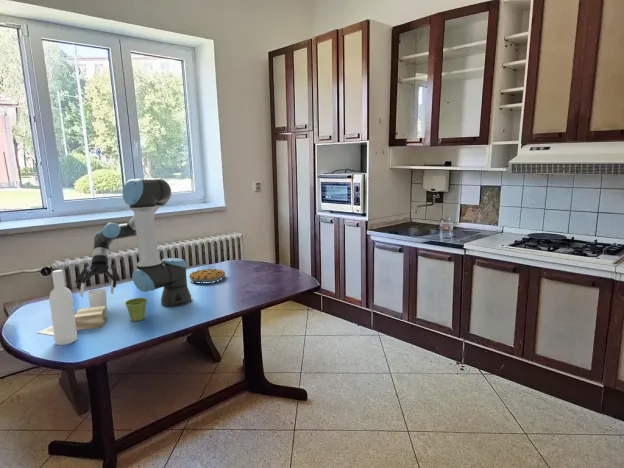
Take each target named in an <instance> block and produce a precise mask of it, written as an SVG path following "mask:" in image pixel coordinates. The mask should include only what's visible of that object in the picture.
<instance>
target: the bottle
mask: <svg viewBox="0 0 624 468" xmlns="http://www.w3.org/2000/svg"><path fill="white" fill-rule="evenodd" d="M51 277H52V281H53V289H52V290H51V292H50V293H49V297H48V298H49V306H50V308H49V309H50V315H51V320H52V326H53V330H54V342H55V345H58V346H65V345H70V344H73V343H74V341H75V342H76V341H77V340H78V332H77V331H78V330H76V323H75V308H74V301H73V293H72V292H71V289H70V288H68V287H66V286H65V285H66V284H65V278H64V271H63V270H62V269H56V270H53V271H51ZM72 342H73V343H72Z"/></svg>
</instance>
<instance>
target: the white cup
mask: <svg viewBox="0 0 624 468" xmlns="http://www.w3.org/2000/svg"><path fill="white" fill-rule="evenodd" d="M87 295H88V301H89V306H90V307H99V306H106V311H107V310H108V307H107V305H108V302H107V301H108V297H107V289H106V288H97V289H91V290H88V291H87Z"/></svg>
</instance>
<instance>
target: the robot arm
mask: <svg viewBox="0 0 624 468" xmlns="http://www.w3.org/2000/svg"><path fill="white" fill-rule="evenodd" d="M171 196H172V189H171V186H170V184H169V183H168V182H167V181H166V180H165V179H163V178H159V177H156V178H155V177H152V178H133V179H129V180H127V181H126V182H125V183H124V185H123V187H122V199H123V201H124V203H125V204H126V205H128V206H129V209H130V210H131V211H132V212H133V216H132V217H130V218H131V219H130V220H129V221H127V223H121V224H118V223H115V222H109V223H107V224H106V225H104V227H103V228H102V230H99V231H97V232H96V233H95V235H94V238H93V246H92V247H93V249H92V258H91V265H90V266H87V265H85V266H84V267H83V270H82V271H81V272H80V274H79V275H78V276H77V278H76V279H75V280H74V281H75V284H76V285H78V290H79V296H80V297H81V298H83V297H84V294H85V293H84V292H85V283H86V282H87V281H89V280H90V279H91V277H94V276H95V275H96V276H97V275H98V276H99V275H106V276H107V277H108V278H109V279H111V282H110V294H111V295H114V290H115V289H114V288H116V287H117V282H120V281H121V278H120V276H119V274H118V273H117V270H116V269H115V265H114V263H111V264H109V254H110V246H111V244H112V243H113V241H115V240H119V239H125V238H132V237H136V240H137V241H136V242H137V251H138V259H139V261H138V262H137V263H136V269H135V270H133V272H132V275H131V276H132V281H133V284H134V285H135V286H136V288H137V289H138V290H139V291H140V292H144V293H145V292H146V293H147V292H151V291H155V290H157V289H160V288H163V289H162V294H161V298H160V303H161V305H162V306H165V307H180V306H184V305H186V303H187V304H189V303H190V302H191V301H192V295H191V292H190V289H189V286H188V281H187V280H188V279H187V265H186V260H184V259H182V258H178V257H177V258H176V257H167V258H162V259H160V258H159V252H158V242H157V233H156V224H155V214H156V212H158V211H159V210H160V208H162V207H163V206H166V204H167V203H168V202H169V201H170V199H171ZM108 264H109V265H108ZM109 269H110V270H112V273H113V274H114V276H113V274H111V272H109V271H108V270H109ZM188 302H189V303H188ZM183 304H184V305H183ZM179 305H180V306H179Z"/></svg>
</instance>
